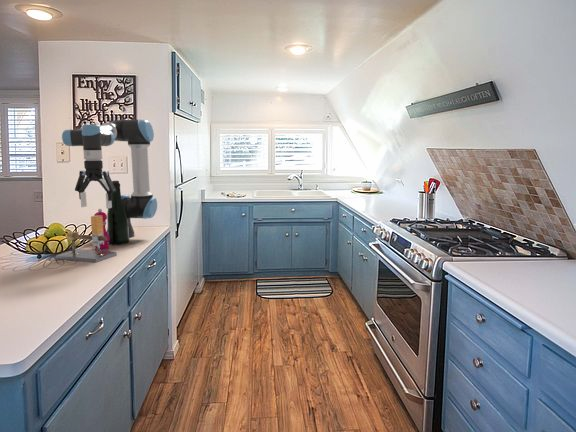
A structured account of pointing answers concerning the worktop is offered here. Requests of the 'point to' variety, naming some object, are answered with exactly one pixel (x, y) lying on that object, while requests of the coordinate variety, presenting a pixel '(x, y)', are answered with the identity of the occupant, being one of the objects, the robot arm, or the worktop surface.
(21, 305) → the worktop surface
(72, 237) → the wooden rod with block
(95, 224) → the block
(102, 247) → the pepper mill
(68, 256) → the bolt plate
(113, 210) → the beer bottle
